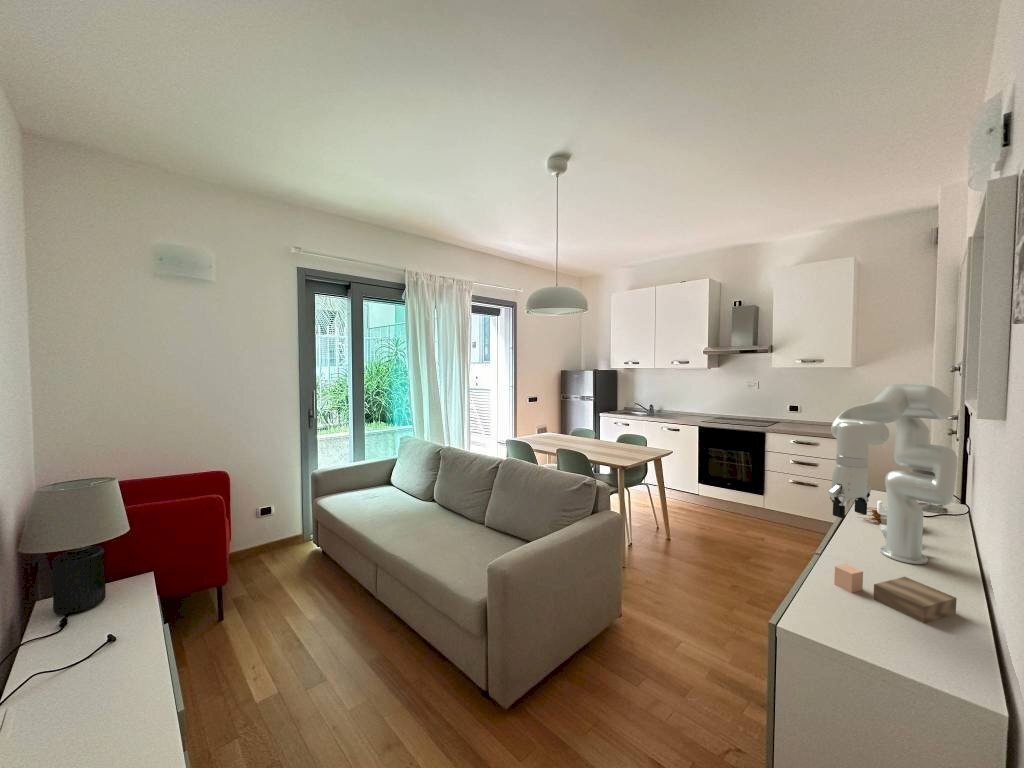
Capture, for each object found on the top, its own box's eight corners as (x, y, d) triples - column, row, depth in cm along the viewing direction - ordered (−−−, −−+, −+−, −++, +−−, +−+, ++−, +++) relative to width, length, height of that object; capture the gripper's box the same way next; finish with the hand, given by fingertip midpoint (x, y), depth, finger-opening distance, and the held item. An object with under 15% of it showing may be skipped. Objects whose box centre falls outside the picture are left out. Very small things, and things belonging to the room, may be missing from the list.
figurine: (909, 543, 159) (910, 506, 158) (876, 537, 165) (878, 501, 164) (906, 537, 165) (907, 501, 164) (875, 531, 171) (876, 496, 170)
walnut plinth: (904, 592, 127) (904, 576, 126) (955, 614, 115) (956, 597, 115) (873, 600, 122) (874, 584, 122) (923, 624, 111) (924, 607, 111)
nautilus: (856, 524, 179) (854, 516, 191) (924, 533, 166) (918, 524, 178) (855, 506, 180) (853, 499, 192) (923, 514, 167) (917, 506, 178)
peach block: (845, 581, 132) (845, 563, 132) (862, 590, 127) (863, 571, 127) (834, 584, 131) (834, 566, 130) (851, 592, 126) (852, 574, 126)
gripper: (857, 457, 133) (855, 508, 134) (819, 461, 128) (817, 514, 129) (884, 462, 126) (882, 516, 127) (844, 466, 121) (842, 522, 122)
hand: (849, 515), depth 128 cm, fingers open, 9 cm apart
